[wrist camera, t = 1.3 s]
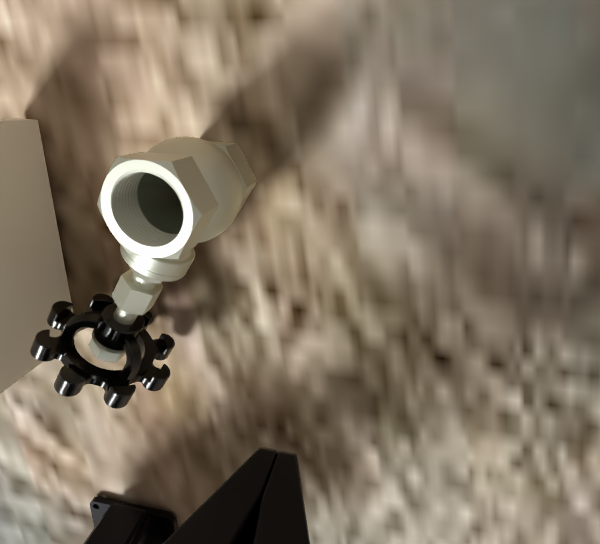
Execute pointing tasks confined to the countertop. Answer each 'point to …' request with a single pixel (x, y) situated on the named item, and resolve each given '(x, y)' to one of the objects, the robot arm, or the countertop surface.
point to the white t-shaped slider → (26, 248)
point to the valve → (147, 258)
